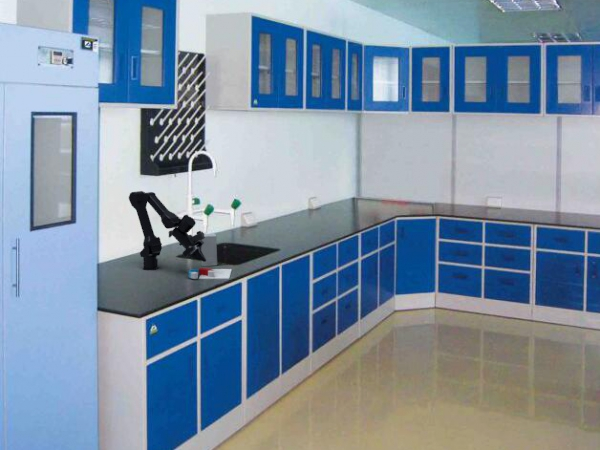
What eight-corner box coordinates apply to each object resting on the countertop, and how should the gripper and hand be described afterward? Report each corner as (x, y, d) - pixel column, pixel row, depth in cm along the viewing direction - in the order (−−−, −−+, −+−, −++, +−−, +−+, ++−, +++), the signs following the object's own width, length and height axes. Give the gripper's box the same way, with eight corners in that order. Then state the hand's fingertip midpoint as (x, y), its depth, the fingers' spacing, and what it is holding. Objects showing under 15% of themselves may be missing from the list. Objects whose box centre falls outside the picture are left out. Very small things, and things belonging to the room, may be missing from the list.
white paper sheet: (199, 279, 360) (199, 278, 360) (203, 269, 379) (203, 268, 379) (229, 279, 360) (229, 278, 360) (231, 270, 380) (231, 269, 380)
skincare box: (216, 263, 395) (216, 233, 393) (217, 266, 388) (217, 235, 386) (200, 263, 394) (199, 233, 392) (200, 266, 387) (200, 235, 385)
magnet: (185, 275, 365) (192, 279, 356) (185, 269, 365) (192, 273, 356) (208, 272, 370) (215, 277, 362) (208, 267, 370) (215, 271, 361)
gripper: (188, 229, 357) (212, 253, 357) (199, 223, 375) (222, 246, 375) (172, 245, 359) (195, 269, 359) (184, 238, 377) (206, 261, 377)
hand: (205, 261), depth 368 cm, fingers closed
